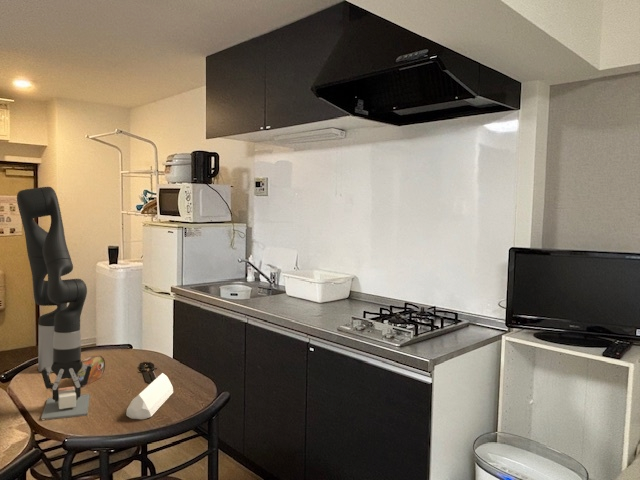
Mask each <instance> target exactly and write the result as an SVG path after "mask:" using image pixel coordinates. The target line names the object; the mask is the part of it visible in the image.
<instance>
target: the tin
mask: <svg viewBox="0 0 640 480" xmlns="http://www.w3.org/2000/svg"><path fill="white" fill-rule="evenodd" d="M81 362H82V364H85V365H88V364H91V365H92V367H91V371H90V375H89V378H88V381H87V384H86V385H83V386H82V387H86V386H87V385H90V384H92V383H94V382H95V381H97V380H100V379H101V378H102V376H103V375H104V373H105V370H106V360H105V358H104V357H103V356H102V355H91V356H89V357H87V358H85V359H83V360H82V359H81ZM77 374H78V376H79V379H80V381H82V380H83V379H84V376H85V372H84V371H83V368H81V369H80V371H79V372H78V373H77ZM71 381H72V383H73V385H75V383H74V381H73V379H72V378H71ZM75 386H76V385H75Z"/></svg>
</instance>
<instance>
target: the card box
mask: <svg viewBox="0 0 640 480" xmlns="http://www.w3.org/2000/svg"><path fill="white" fill-rule="evenodd" d="M58 405H59V409H64V408H71V407H76V392H75V386H67V387H58Z"/></svg>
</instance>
